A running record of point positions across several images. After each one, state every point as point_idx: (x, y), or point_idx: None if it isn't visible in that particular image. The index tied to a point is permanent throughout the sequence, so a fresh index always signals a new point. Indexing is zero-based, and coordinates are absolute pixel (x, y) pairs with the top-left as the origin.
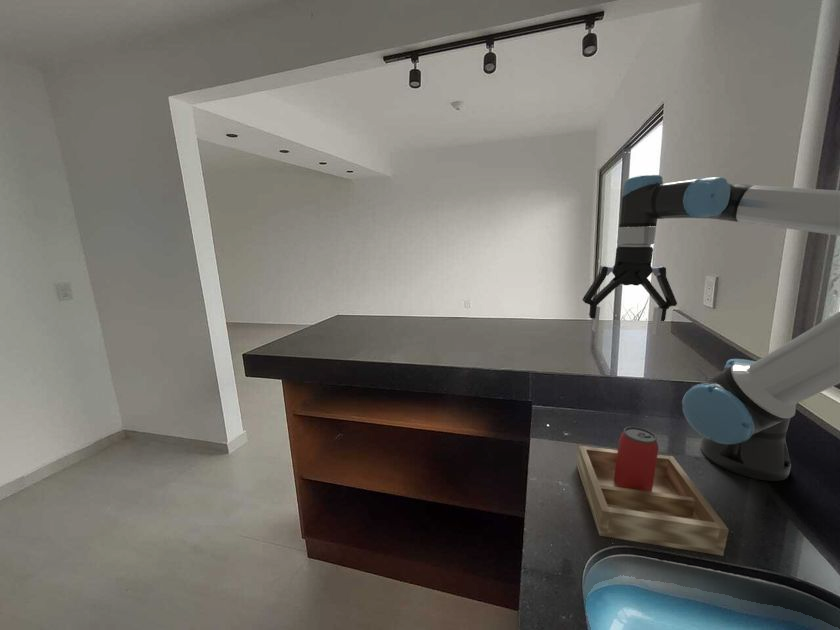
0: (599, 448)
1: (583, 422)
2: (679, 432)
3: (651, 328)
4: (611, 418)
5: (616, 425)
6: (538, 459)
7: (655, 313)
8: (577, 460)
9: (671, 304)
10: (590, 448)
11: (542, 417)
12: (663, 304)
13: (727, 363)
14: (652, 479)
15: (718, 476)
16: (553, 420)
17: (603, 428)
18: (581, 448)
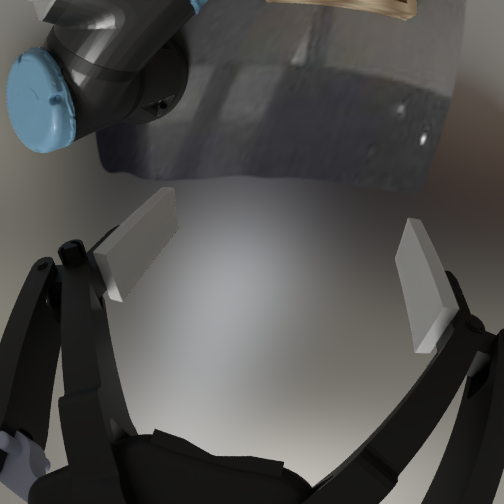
0: (383, 4)
1: (355, 148)
2: (196, 133)
3: (171, 236)
4: (296, 166)
5: (296, 141)
6: (458, 42)
7: (132, 263)
8: (408, 18)
9: (51, 263)
10: (398, 5)
11: (423, 166)
12: (77, 270)
13: (63, 108)
14: None
15: (194, 22)
16: (408, 155)
17: (325, 129)
18: (414, 7)
